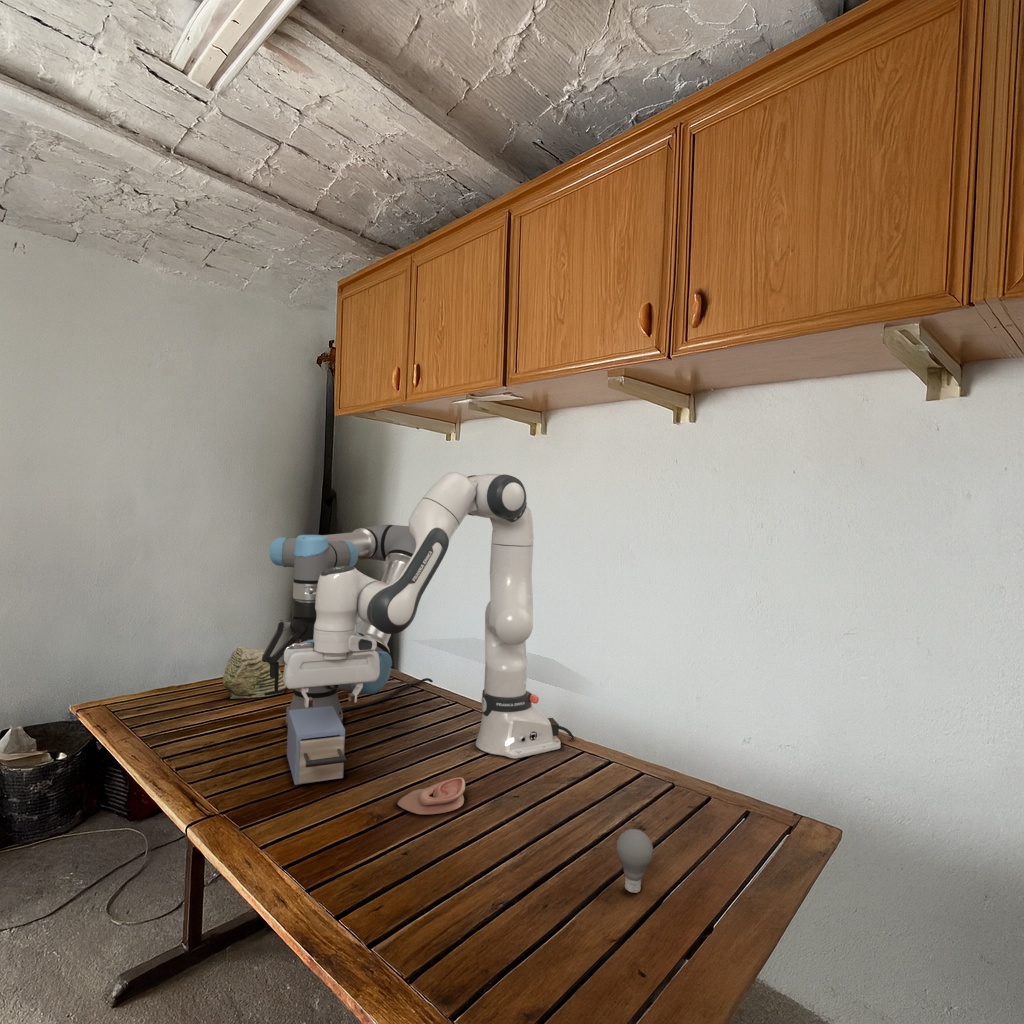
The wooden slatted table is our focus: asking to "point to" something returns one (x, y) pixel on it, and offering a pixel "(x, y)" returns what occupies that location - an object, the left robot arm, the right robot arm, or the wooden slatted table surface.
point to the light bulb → (634, 857)
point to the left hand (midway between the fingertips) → (306, 688)
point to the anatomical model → (435, 798)
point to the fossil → (250, 675)
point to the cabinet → (310, 731)
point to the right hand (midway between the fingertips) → (330, 704)
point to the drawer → (321, 759)
